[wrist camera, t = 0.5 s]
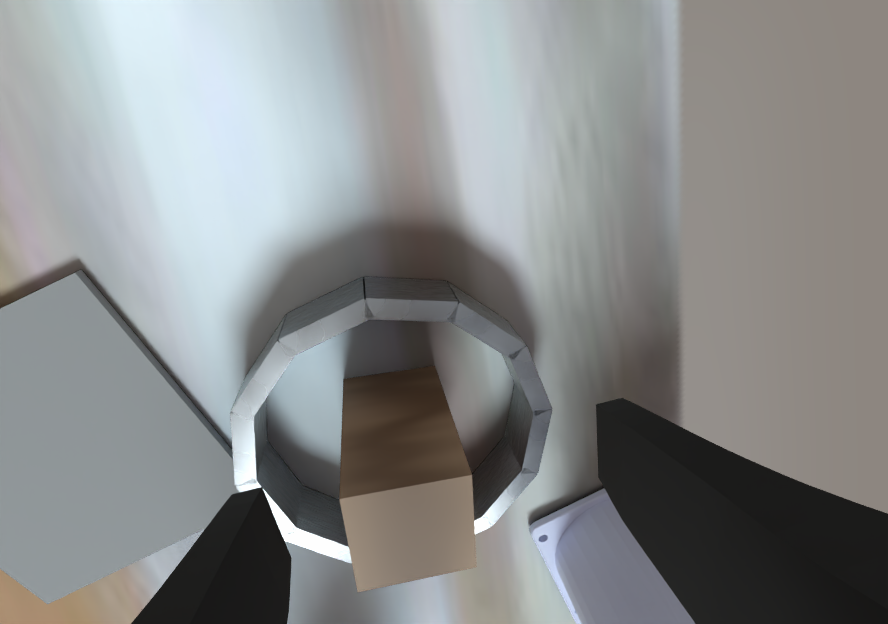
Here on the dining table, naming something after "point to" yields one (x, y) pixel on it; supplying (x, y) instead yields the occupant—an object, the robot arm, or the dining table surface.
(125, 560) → the slate mat
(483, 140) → the dining table surface
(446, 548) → the walnut block
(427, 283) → the steel ring
